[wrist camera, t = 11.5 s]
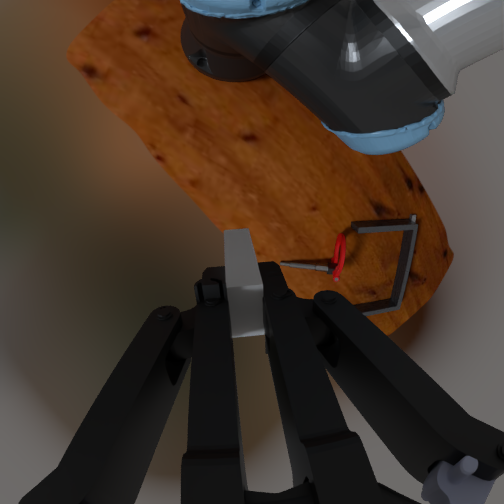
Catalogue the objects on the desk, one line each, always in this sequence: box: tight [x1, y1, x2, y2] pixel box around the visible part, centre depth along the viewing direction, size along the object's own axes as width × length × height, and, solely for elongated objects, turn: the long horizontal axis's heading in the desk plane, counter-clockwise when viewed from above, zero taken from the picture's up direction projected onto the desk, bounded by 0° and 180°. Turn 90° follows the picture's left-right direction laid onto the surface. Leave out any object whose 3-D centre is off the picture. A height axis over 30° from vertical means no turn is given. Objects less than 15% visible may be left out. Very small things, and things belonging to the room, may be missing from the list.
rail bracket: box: [351, 214, 418, 316], centre depth 50 cm, size 21×14×3 cm, turn 3°
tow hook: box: [280, 233, 346, 282], centre depth 46 cm, size 7×10×7 cm
